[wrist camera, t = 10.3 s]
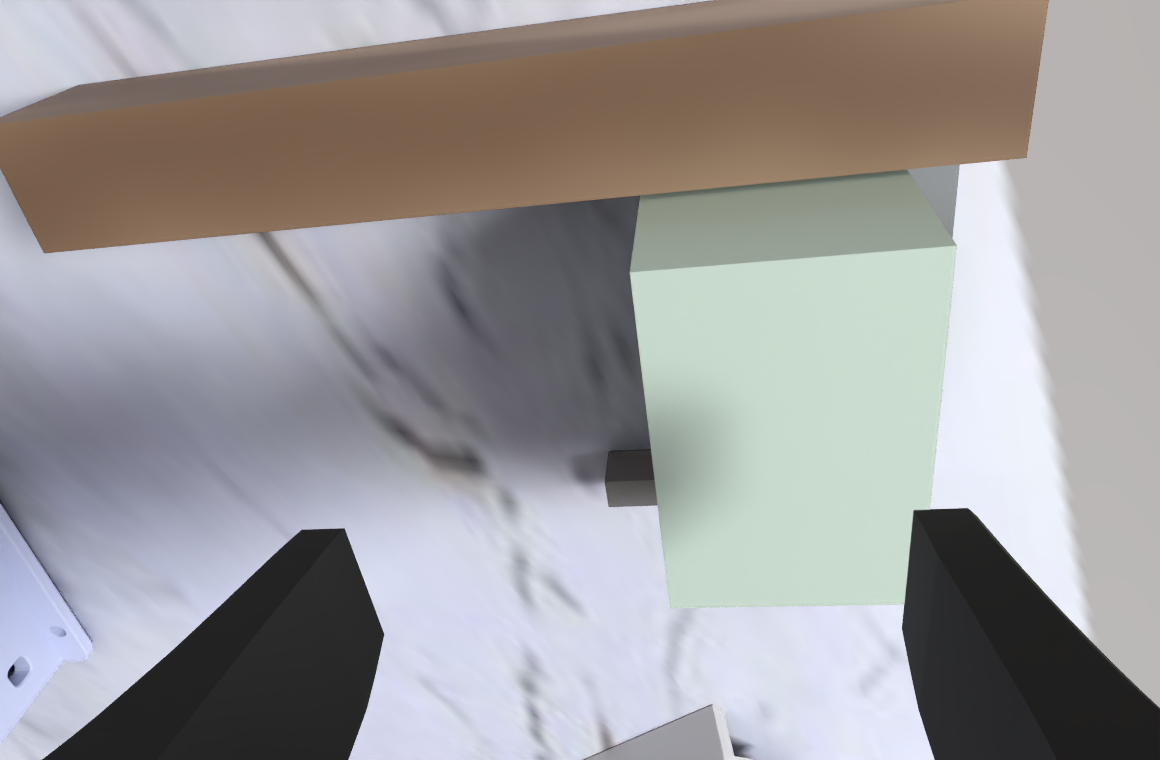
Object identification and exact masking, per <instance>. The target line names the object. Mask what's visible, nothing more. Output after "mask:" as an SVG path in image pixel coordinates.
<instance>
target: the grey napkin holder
mask: <svg viewBox="0 0 1160 760" xmlns="http://www.w3.org/2000/svg"><path fill="white" fill-rule="evenodd" d="M585 760H755V759H749V758H743V757H737V756H734V753H733V748H732V744H731V740H730V736H729V731H728V727H727V723H726V719H725V714H724V711H722V710H721V709H719V708H718V707H716V706H714V705H710V706H708V707H706V708H703V709H701V710H699V711H696V712H694V713H692V714H689V715H687V716H685V717H683V718H680V719H678V720H676V721H673V722H671V723H669V724H666V725H664V726H662V727H659V728H657V729H655V730H652V731H650V732H648V733H645V734H643V735H641V736H638V737H636V738H634V739H632V740H629V741H627V742H625V743H622V744H620V745H618V746H615V747H613V748H611V749H608V750H606V751H604V752H601V753H599V754H597V755H594V756H592V757H590V758H587V759H585Z"/></svg>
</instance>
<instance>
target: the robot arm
mask: <svg viewBox="0 0 1160 760" xmlns="http://www.w3.org/2000/svg"><path fill="white" fill-rule="evenodd" d="M902 630H903V636H904V641H905V646H906V651H907V656H908V661H909V666H910V671H911V676H912V680H913V685H914V690H915V695H916V699H917V704H918V709H919V712H920V715H921V718H922V722H923V725H924V728H925V731H926V734H927V737H928V740H929V743H930V746H931V750H932V753H933V756H934V759H935V760H1160V708H1159V707H1158V706H1157V705H1156V704H1155V703H1154V702H1153V701H1152V700H1151V699H1149V698H1148V697H1147V696H1146V695H1145V694H1144V693H1143V692H1142V691H1141V690H1140V689H1139V688H1138V687H1137V686H1136V685H1135V684H1134V683H1133V682H1131V680H1129V679H1128V678H1127V677H1126V676H1125V675H1124V674H1123V673H1122V672H1121V671H1120V670H1119V669H1118V668H1117V667H1116V666H1115V665H1114V664H1113V663H1112V662H1111V661H1110V660H1109V659H1108V658H1107V657H1106V656H1105V655H1104V654H1103V653H1102V652H1101V651H1100V650H1099V649H1098V648H1097V647H1096V646H1095V645H1094V644H1093V643H1092V642H1091V641H1090V640H1089V639H1088V638H1087V637H1086V636H1085V635H1084V634H1083V633H1082V631H1081V630H1080V629H1079V628H1078V627H1077V626H1076V625H1075V624H1074V623H1073V622H1072V621H1071V620H1070V619H1069V618H1068V617H1067V616H1066V615H1065V614H1064V613H1063V612H1062V611H1061V610H1060V609H1059V608H1058V607H1057V606H1056V605H1055V603H1054V602H1053V601H1052V600H1051V599H1050V598H1049V597H1048V596H1047V595H1046V594H1045V593H1044V592H1043V591H1042V589H1041V588H1040V587H1039V586H1038V585H1037V584H1036V583H1035V582H1034V581H1033V580H1032V578H1031V577H1030V576H1029V575H1028V574H1027V573H1026V572H1025V571H1024V570H1023V569H1022V567H1021V566H1020V565H1019V564H1018V563H1017V562H1016V561H1015V560H1014V558H1013V557H1012V556H1011V555H1010V554H1009V553H1008V552H1007V550H1006V549H1005V548H1004V547H1003V546H1002V545H1001V544H1000V542H999V541H998V540H997V539H996V538H995V537H994V536H993V534H992V533H991V532H990V531H989V530H988V529H987V527H986V526H985V525H984V524H983V523H982V522H981V520H980V519H979V518H978V517H977V516H976V515H975V514H974V513H973V512H972V511H970V510H969V509H968V508H961V509H931V510H914V511H913V521H912V531H911V542H910V552H909V562H908V573H907V583H906V593H905V604H904V614H903V624H902ZM383 637H384V633H383V630H382V627H381V625H380V622H379V619H378V617H377V614H376V611H375V609H374V606H373V603H372V601H371V598H370V595H369V593H368V590H367V587H366V585H365V582H364V579H363V577H362V574H361V571H360V569H359V566H358V563H357V561H356V558H355V555H354V553H353V550H352V547H351V545H350V542H349V539H348V537H347V534H346V531H345V529H314V530H301V531H300V532H299V533H298V534H297V535H295V536H294V537H293V538H292V539H291V540H290V541H289V542H287V543H286V544H285V545H284V546H283V547H282V548H281V549H280V550H279V551H278V552H277V553H275V554H274V555H273V556H272V557H271V558H270V559H269V560H268V561H267V562H266V563H265V564H264V565H263V566H262V567H261V568H260V569H258V570H257V571H256V572H255V573H254V574H253V575H252V576H251V577H250V578H249V579H248V580H247V581H246V582H245V583H244V584H243V585H242V586H241V587H240V588H239V589H238V590H236V591H235V592H234V593H233V594H232V595H231V596H230V597H229V598H228V599H227V600H226V601H225V602H224V603H223V604H222V605H221V606H220V607H219V608H217V609H216V610H215V611H214V612H213V613H212V614H211V615H210V616H209V617H208V618H207V619H206V620H205V621H204V622H202V623H201V624H200V625H199V626H198V627H197V628H196V629H195V630H194V631H193V632H192V633H191V634H190V635H189V636H188V637H186V638H185V639H184V640H183V641H182V642H181V643H180V644H179V645H178V646H177V647H176V648H175V649H174V650H172V651H171V652H170V653H169V654H168V655H167V656H166V657H165V658H163V659H162V660H161V661H160V662H159V663H158V664H156V665H155V666H154V667H153V668H152V669H151V670H150V671H148V672H147V673H146V674H145V675H144V676H143V677H142V678H140V679H139V680H138V681H137V682H136V683H135V684H133V685H132V686H131V687H130V688H129V689H128V690H127V691H125V692H124V693H123V694H122V695H121V696H120V697H119V698H117V699H116V700H115V701H114V702H113V703H112V704H110V705H109V706H108V707H107V708H106V709H105V710H104V711H102V712H101V713H100V714H99V715H98V716H97V717H95V718H94V719H93V720H92V721H90V722H89V723H88V724H87V725H86V726H84V727H83V728H82V729H81V730H79V731H78V732H77V733H76V734H74V735H73V736H72V737H71V738H69V739H68V740H67V741H66V742H64V743H63V744H62V745H61V746H59V747H58V748H57V749H56V750H54V751H53V752H52V753H50V754H49V755H48V756H46V757H45V758H44V759H42V760H348V759H349V756H350V754H351V751H352V748H353V745H354V743H355V740H356V737H357V734H358V732H359V729H360V726H361V723H362V721H363V718H364V715H365V712H366V709H367V706H368V702H369V698H370V694H371V690H372V686H373V682H374V678H375V674H376V669H377V665H378V660H379V656H380V651H381V646H382V642H383ZM93 648H94V647H93V645H92V642H91V641H90V639H89V638H88V636H87V635H86V633H85V632H84V630H83V628H82V627H81V625H80V624H79V622H78V621H77V619H76V618H75V616H74V615H73V613H72V612H71V610H70V609H69V607H68V606H67V604H66V603H65V601H64V600H63V598H62V596H61V595H60V593H59V592H58V590H57V589H56V587H55V586H54V584H53V583H52V581H51V580H50V578H49V577H48V575H47V574H46V572H45V571H44V569H43V568H42V566H41V564H40V563H39V561H38V560H37V558H36V557H35V555H34V554H33V552H32V551H31V549H30V548H29V546H28V545H27V543H26V542H25V540H24V539H23V537H22V536H21V534H20V532H19V531H18V529H17V528H16V526H15V525H14V523H13V522H12V520H11V519H10V517H9V516H8V514H7V513H6V511H5V510H4V508H3V507H2V505H1V504H0V745H1V743H2V742H3V741H4V739H5V738H6V737H7V735H8V734H9V733H10V731H11V730H12V729H13V727H14V726H15V725H16V723H17V722H18V721H19V719H20V718H21V717H22V716H23V714H24V713H25V712H26V710H27V709H28V708H29V706H30V705H31V704H32V702H33V701H34V700H35V698H36V697H37V696H38V694H39V693H40V692H41V690H42V689H43V688H44V686H45V685H46V684H47V682H48V681H49V680H50V678H51V677H52V676H53V674H54V673H55V672H56V670H57V669H58V668H59V667H60V665H61V664H62V663H63V662H64V661H84V660H86V659H87V658H88V657H89V655H90V654H91V653H92V651H93Z"/></svg>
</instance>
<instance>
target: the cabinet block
mask: <svg viewBox="0 0 1160 760" xmlns="http://www.w3.org/2000/svg"><path fill="white" fill-rule="evenodd" d="M956 249H957V245H956V244H955V242H954V241H953V239H952V237H951V236H950V234H949V233H948V231H947V230H946V228H945V227H944V225H943V224H942V222H941V221H940V219H939V218H938V216H937V214H936V213H935V211H934V210H933V208H932V207H931V205H930V204H929V202H928V201H927V199H926V198H925V196H924V195H923V193H922V192H921V190H920V188H919V187H918V185H917V184H916V182H915V181H914V179H913V178H912V176H911V175H910V173H909V172H908V170H896V171H886V172H876V173H865V174H855V175H845V176H834V177H824V178H814V179H804V180H793V181H783V182H773V183H762V184H752V185H742V186H732V187H721V188H711V189H701V190H690V191H680V192H670V193H660V194H649V195H640V200H639V208H638V215H637V223H636V230H635V237H634V245H633V252H632V259H631V267H630V279H631V287H632V296H633V304H634V312H635V320H636V329H637V337H638V345H639V354H640V362H641V370H642V379H643V387H644V395H645V404H646V412H647V420H648V429H649V437H650V445H651V454H652V462H653V470H654V479H655V487H656V495H657V504H658V512H659V520H660V528H661V537H662V545H663V553H664V562H665V570H666V578H667V587H668V595H669V603H670V608H706V607H772V606H837V605H903V604H905V593H906V583H907V573H908V562H909V552H910V542H911V531H912V521H913V511H914V510H930V503H931V494H932V484H933V474H934V464H935V454H936V445H937V435H938V425H939V415H940V406H941V396H942V386H943V376H944V366H945V357H946V347H947V337H948V327H949V317H950V308H951V298H952V288H953V278H954V269H955V259H956Z"/></svg>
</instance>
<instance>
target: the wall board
mask: <svg viewBox="0 0 1160 760" xmlns="http://www.w3.org/2000/svg"><path fill="white" fill-rule="evenodd" d="M1048 2H1049V0H713V1H705V2H698V3H690V4H683V5H675V6H668V7H660V8H653V9H645V10H638V11H630V12H623V13H615V14H608V15H600V16H593V17H585V18H578V19H571V20H563V21H556V22H548V23H541V24H533V25H526V26H518V27H511V28H503V29H496V30H488V31H481V32H473V33H466V34H458V35H451V36H443V37H436V38H428V39H421V40H413V41H406V42H398V43H391V44H383V45H376V46H368V47H361V48H353V49H346V50H338V51H331V52H323V53H316V54H308V55H301V56H293V57H286V58H279V59H271V60H264V61H256V62H249V63H241V64H234V65H226V66H219V67H211V68H204V69H196V70H189V71H181V72H174V73H166V74H159V75H151V76H144V77H136V78H129V79H121V80H114V81H106V82H99V83H91V84H84V85H78V86H76V87H73V88H71V89H68V90H66V91H63V92H61V93H58V94H56V95H54V96H51V97H49V98H46V99H44V100H41V101H39V102H37V103H34V104H32V105H29V106H27V107H24V108H22V109H20V110H17V111H15V112H12V113H10V114H7V115H5V116H3V117H0V169H1V171H2V173H3V175H4V176H5V178H6V180H7V182H8V184H9V186H10V188H11V190H12V192H13V194H14V196H15V198H16V200H17V202H18V204H19V206H20V207H21V209H22V211H23V213H24V215H25V217H26V219H27V221H28V223H29V225H30V227H31V229H32V231H33V233H34V235H35V237H36V239H37V240H38V242H39V244H40V246H41V248H42V250H43V252H44V253H53V252H63V251H73V250H83V249H94V248H104V247H114V246H125V245H135V244H145V243H155V242H166V241H176V240H186V239H197V238H207V237H217V236H227V235H238V234H248V233H258V232H269V231H279V230H289V229H299V228H310V227H320V226H330V225H341V224H351V223H361V222H371V221H382V220H392V219H402V218H413V217H423V216H433V215H444V214H454V213H464V212H474V211H485V210H495V209H505V208H516V207H526V206H536V205H546V204H557V203H567V202H577V201H588V200H598V199H608V198H618V197H629V196H639V195H649V194H660V193H670V192H680V191H690V190H701V189H711V188H721V187H732V186H742V185H752V184H762V183H773V182H783V181H793V180H804V179H814V178H824V177H834V176H845V175H855V174H865V173H876V172H886V171H896V170H908V172H909V173H910V175H911V176H912V178H913V179H914V181H915V182H916V184H917V185H918V187H919V188H920V190H921V192H922V193H923V195H924V196H925V198H926V199H927V201H928V202H929V204H930V205H931V207H932V208H933V210H934V211H935V213H936V214H937V216H938V218H939V219H940V221H941V222H942V224H943V225H944V227H945V228H946V230H947V231H948V233H949V234H950V236H951V237H952V236H953V226H954V216H955V206H956V196H957V186H958V175H959V165H960V164H968V163H979V162H989V161H999V160H1009V159H1019V158H1026V157H1027V150H1028V143H1029V136H1030V129H1031V122H1032V115H1033V108H1034V101H1035V94H1036V87H1037V80H1038V72H1039V66H1040V58H1041V51H1042V44H1043V37H1044V30H1045V23H1046V15H1047V9H1048ZM605 487H606V493H607V499H608V505H609V507H623V506H651V505H658V504H657V495H656V487H655V479H654V470H653V462H652V454H651V450H638V451H616V452H609V453H608V461H607V468H606V476H605Z"/></svg>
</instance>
